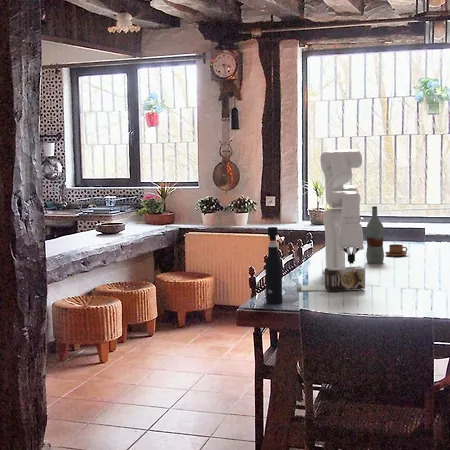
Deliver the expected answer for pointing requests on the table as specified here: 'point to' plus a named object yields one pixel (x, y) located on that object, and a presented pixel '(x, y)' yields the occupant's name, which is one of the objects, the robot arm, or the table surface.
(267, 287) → the wine bottle
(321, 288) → the pale green rectangular board
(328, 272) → the coffee box
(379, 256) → the vodka
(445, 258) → the table surface
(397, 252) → the cup and saucer
